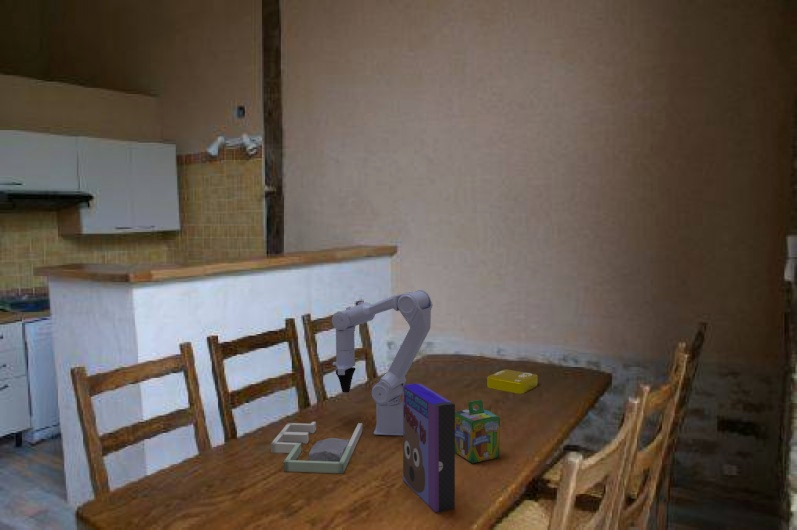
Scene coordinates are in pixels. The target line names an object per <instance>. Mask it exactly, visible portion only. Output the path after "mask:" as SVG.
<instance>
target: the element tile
mask: <svg viewBox="0 0 797 530" xmlns="http://www.w3.org/2000/svg"><path fill="white" fill-rule="evenodd" d="M486 381H487V382H486V387H487V388H489V389H494V390H499V391H503V392H508V393H512V394H513V393H514V394H524V393H527V392H529V391H530V390H532V389H534V388H537V387H538V375H537V374H535V373H530V372H523V371H517V370H513V369H502V370H499V371H496V372H494V373H493V374H490V375H488V376H487V377H486Z"/></svg>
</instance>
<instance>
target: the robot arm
mask: <svg viewBox="0 0 797 530" xmlns="http://www.w3.org/2000/svg"><path fill="white" fill-rule="evenodd" d="M433 305H434V304H433V302H432V300H431V297H430V294H429V293H428V292H426V291H425V290H422V289H418V290H415V291H411V292H405V293H399V294H396V295H391V296H389V297H386V298H385V299H382V300H379V301H377V302H375V303H370V302H367V301H365V302H364V301H360V302H358V303H357V304H356V305H354V306H347V307H345V310H341V311H337V312H335V313H334V314H333V315H332V318H331V324H332V326H333V327H334V329H335V356H336V357H335V361H333V362H332V366H335V367H336V368H337V369H336V370H335V374H336V376H337V378H338V380H339V384H340V388H341V392H342V393H350V391H351V385H352V380H353V376H354V373H355V371H356V370H357V369H356V362H355V361H356V356H355V353H356V352H355V331H356V327H357V326H360V325H362V324H365V323H368V322H371V321H373V320H374V319H375V316H376V315H377V314H380V313H384V312H386V311H390V310H395V312H400V314H401V315H402V317H403V318H404V319H405V321H406V323H408V325H409V330H408V331H407V333H406V335H405V337H404V339H403V341H402V343H401V345H400V347H399V348H398V350H397V353H396V355H395V357H394V359H393V360H392V362H391V364H390V366H389V368H388V370H387V372H386V373H385V374H384V375H382V376H381V378H380V380H379V382H377V383H376V384H374V385H373V386H372V389H371V396H372V399H373V401H374V402H375V405H376V406H375V407H376V408H375V409H376V410H375V411H376V421H375V422H376V426H375V429H374V431H373V435H376V436H378V435H381V436H403V401H401V396H403V386H405V385H406V381H407V378H406V375H407V373H408V372H409V370H410V367H411V366H412V365H413V362H414V360H415V358H416V356H417V354H418V353H419V351H420V349H421V347H422V345H423V343H424V341H425V339H426V338H427V335H428V334H429V332H430V329H431V317H432V311H431V310H432V309H433Z"/></svg>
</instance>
